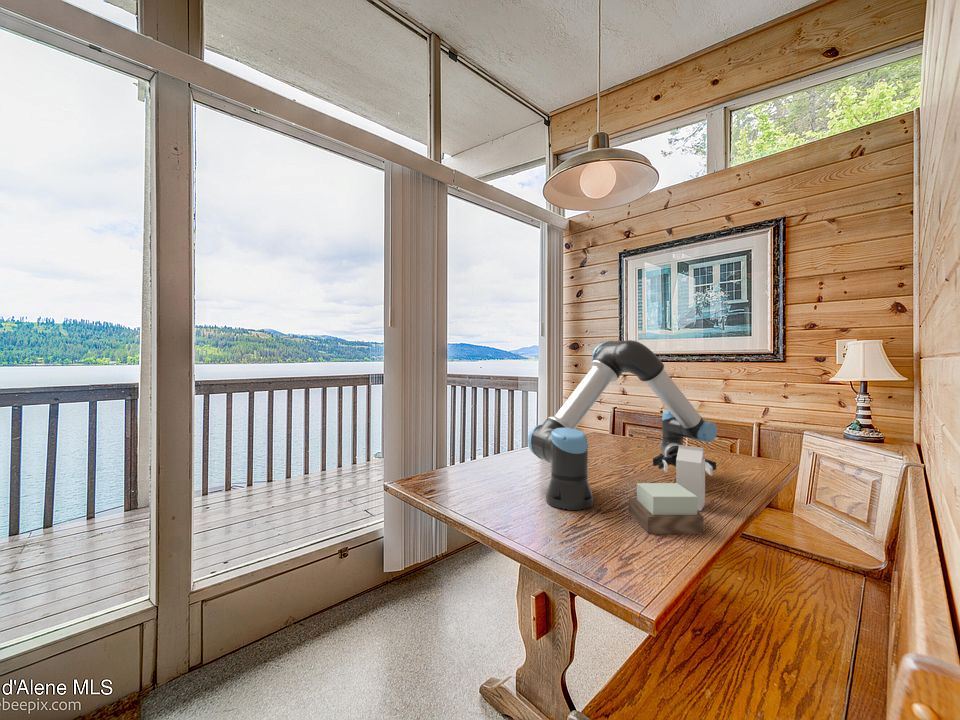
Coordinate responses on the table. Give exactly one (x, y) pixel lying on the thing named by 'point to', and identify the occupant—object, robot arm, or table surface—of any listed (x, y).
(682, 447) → the milk carton
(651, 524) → the tower base
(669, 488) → the tower top
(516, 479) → the table surface
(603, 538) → the table surface
